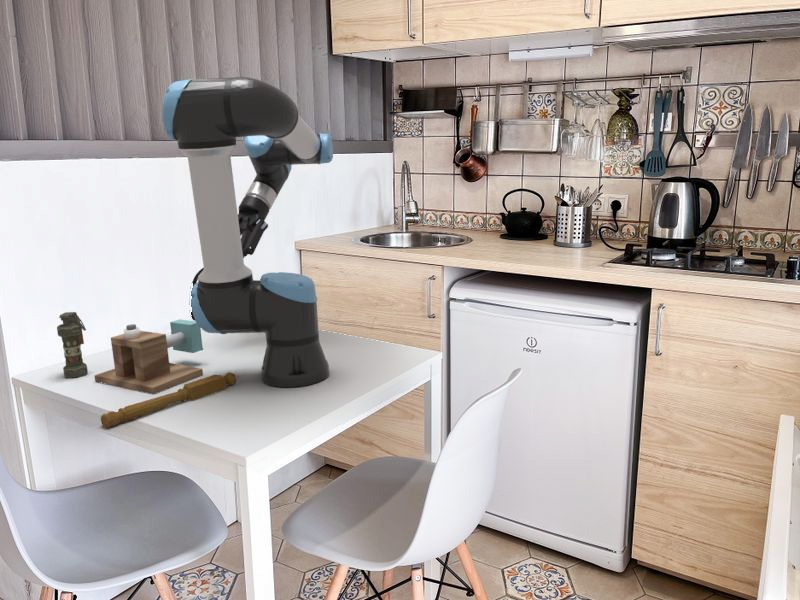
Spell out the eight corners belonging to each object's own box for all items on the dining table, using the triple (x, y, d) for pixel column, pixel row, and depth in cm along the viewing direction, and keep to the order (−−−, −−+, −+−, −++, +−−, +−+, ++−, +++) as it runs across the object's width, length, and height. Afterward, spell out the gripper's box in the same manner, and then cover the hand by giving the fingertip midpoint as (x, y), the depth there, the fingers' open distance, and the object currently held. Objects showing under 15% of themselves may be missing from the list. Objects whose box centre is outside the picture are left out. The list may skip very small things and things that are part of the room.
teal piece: (202, 349, 164) (199, 321, 163) (161, 364, 154) (157, 334, 152) (182, 346, 168) (179, 319, 166) (141, 360, 157) (137, 331, 156)
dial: (143, 336, 151) (141, 324, 151) (131, 340, 149) (129, 327, 148) (134, 335, 153) (132, 323, 152) (121, 338, 150) (120, 326, 150)
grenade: (85, 377, 158) (76, 315, 155) (59, 378, 158) (49, 316, 155) (98, 369, 164) (89, 309, 161) (72, 370, 164) (63, 310, 161)
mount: (203, 374, 156) (198, 331, 154) (153, 394, 145) (147, 347, 142) (145, 364, 166) (140, 323, 164) (95, 381, 155) (88, 337, 153)
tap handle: (98, 412, 128) (229, 369, 150) (101, 427, 128) (231, 382, 151) (106, 415, 126) (238, 371, 148) (109, 431, 126) (239, 385, 149)
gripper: (291, 212, 178) (254, 285, 168) (239, 212, 188) (201, 280, 178) (276, 194, 173) (236, 267, 163) (223, 194, 182) (183, 263, 172)
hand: (218, 274), depth 170 cm, fingers open, 6 cm apart
